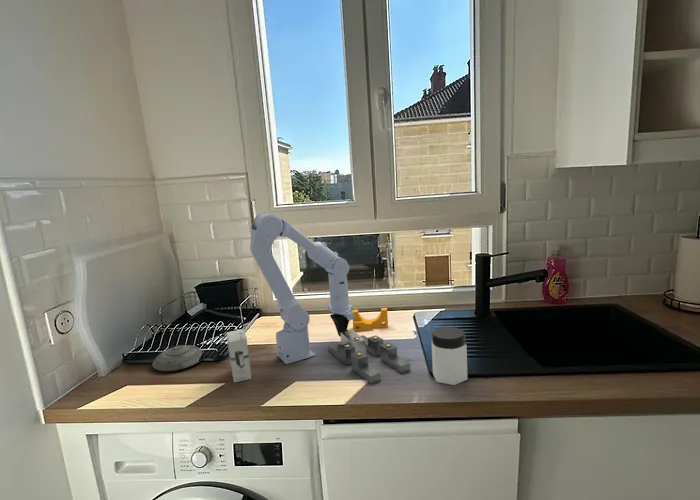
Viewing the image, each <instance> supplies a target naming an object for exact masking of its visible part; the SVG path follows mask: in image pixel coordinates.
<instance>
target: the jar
mask: <svg viewBox="0 0 700 500" xmlns="http://www.w3.org/2000/svg"><path fill="white" fill-rule="evenodd" d="M431 337H432V338H431V360H432V363H431V366H432V375H433V377H434V380H435V382H436V383H441V384H444V385H445V384H446V385H452V386H456V385H458V384H460V383H462V382H463V383H464V382H465V381H467V380H468V350H467V348H468V346H467V344H466V331H464V330H463V329H461V328H457V327H453V326H442V327H438V328H435V329H433V331H432V332H431Z"/></svg>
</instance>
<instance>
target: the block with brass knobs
mask: <svg viewBox="0 0 700 500" xmlns="http://www.w3.org/2000/svg"><path fill="white" fill-rule="evenodd" d="M340 334H341V337H340V345H344V344H347V343H349V344H350V345H352V346H353V347H355V353H356V352H359V351H361V352H362V353H364V354H365V355H367V351H366V346H365V340H364V339H363V338H362V337H361V336H362V335H360V334H358V333H357V331H353V329H347V330H345V331H343V332H340Z"/></svg>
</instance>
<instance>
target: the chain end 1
mask: <svg viewBox="0 0 700 500" xmlns="http://www.w3.org/2000/svg"><path fill="white" fill-rule="evenodd" d="M360 336H361V337H362V338H363V339H364V340H365V346H366V352H368V353H370V354H371V355H373V356H374V357H378V356H381V352H380V345H382V344H384V338H381V337H380V336H378V335H373V336H369V337H367V336H365V335H360ZM327 349H328V352H329V353H330V354H332V355H333V356H334V357H336V359H338V360H340V361H341V362H342V363H343V364H344V365H346V366H350V365H352V363H351V354H352V353H355V347H353V346H352V345H350V344H349V343H347V344H344V345H341V343H338V342H335V343H331V344H328V345H327Z"/></svg>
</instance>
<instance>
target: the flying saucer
mask: <svg viewBox="0 0 700 500" xmlns="http://www.w3.org/2000/svg"><path fill="white" fill-rule="evenodd" d="M202 351H203V350H202V349H201V348H199V347H197V346H195V345H190V344H189V345H187V344H183V345H182V344H181V345H176V346H173V347H170V348H168V349H167V348H166V349H165V350H164V351H162V352H160V353H159V354H158V355H157V356H156V357H155V358H154V360H153V361H152V365H151V366H152V368H153V369H154V370H156V371H161V372H175V371H180V370H184V369H186V368H189V367H192V366H194V365H196V364H198V363H199V362H200V361H199V358H200V357H201V355H202Z"/></svg>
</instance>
